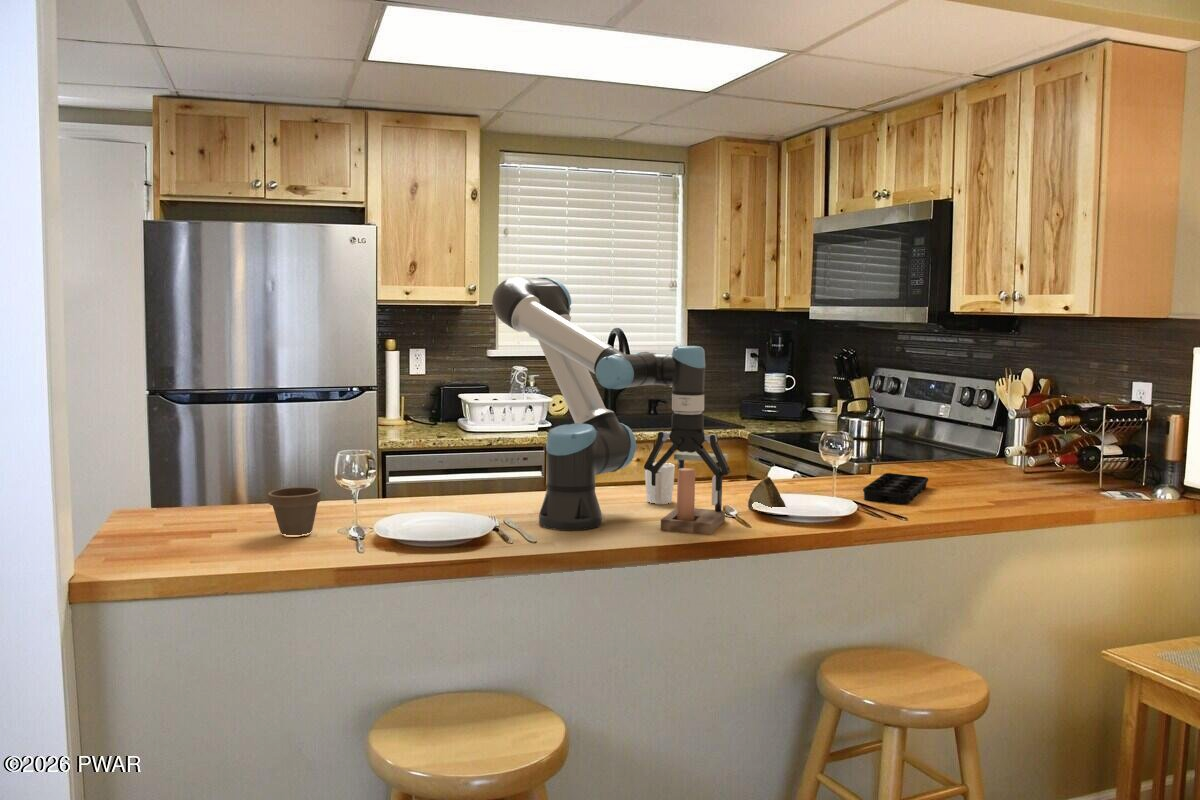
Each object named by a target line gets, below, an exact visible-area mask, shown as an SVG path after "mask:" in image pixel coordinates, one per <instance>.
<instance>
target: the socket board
mask: <svg viewBox="0 0 1200 800" xmlns="http://www.w3.org/2000/svg"><path fill="white" fill-rule="evenodd" d="M725 521H726V510H721V512H716V511H715V509H708V508H697V507H696V508H695V507H694V521H686V520H677V507H675V508H673V510H671V511H670V512H668V513H667V514H666V515H665V516H664V517H662V518H661V519H660V531H667V532H668V531H669V532H679V533H689V534H690V533H691V534H700V535H713V533H714V532H715V531H716V530H717V529H718V528H720V526H721V525H722V524H723V523H724V522H725Z"/></svg>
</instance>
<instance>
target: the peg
mask: <svg viewBox="0 0 1200 800" xmlns="http://www.w3.org/2000/svg"><path fill="white" fill-rule="evenodd" d="M677 481H678V502H677V501H676V508H677V520H686V521H694V508H695V499H696V498H695V497H696V495H695V493H696V492H695V491H696V469H694V468H691V467H689V468H687V467H684V468H681V469H678V468H677Z"/></svg>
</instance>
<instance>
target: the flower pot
mask: <svg viewBox="0 0 1200 800" xmlns="http://www.w3.org/2000/svg"><path fill="white" fill-rule="evenodd" d="M321 491H322V490H321V489H320V488H317V487H310V486H298V487H297V486H296V487H295V486H294V487H286V488H285V487H284V488H279V489H275V490H271V491H270V492H268V493H267V498H268V504H269V505H271V506H272V509H273V511H274V515H275V519H276V523H277V525H278V529H279V532H280V534H281V533H282V534H286V535H302V534H307V533H310V532H311V531H312V532H313V528H314V525H315V524H314V523H315V519H316V513H317V508H318V503H320V502H321V500H322V492H321ZM312 532H311V533H312Z"/></svg>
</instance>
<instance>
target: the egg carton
mask: <svg viewBox="0 0 1200 800" xmlns="http://www.w3.org/2000/svg"><path fill="white" fill-rule="evenodd" d="M928 482H929V478H928V477H926V476H920V475H919V476H918V475H910V474H901V473H891V472H886V473H883V474H882V475H880V476H879V477H878V478H877V479H875V480H873V481H872V482H871V483H869V484H867V485H866V486H865V487H863V488H862V492H863V500H864V501H866V502H872V503H873V502H874V503H885V502H886V503H888V504H891V505H901V506H902V505H908V504H910V502H912V501H914V498H917V497H918V495H919V494H922V492H923V491H925V490H926V489H927V483H928Z"/></svg>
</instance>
